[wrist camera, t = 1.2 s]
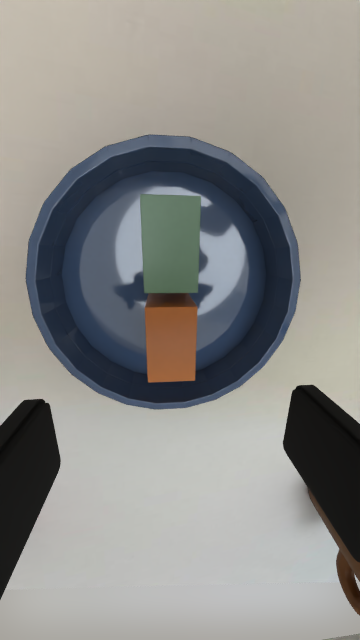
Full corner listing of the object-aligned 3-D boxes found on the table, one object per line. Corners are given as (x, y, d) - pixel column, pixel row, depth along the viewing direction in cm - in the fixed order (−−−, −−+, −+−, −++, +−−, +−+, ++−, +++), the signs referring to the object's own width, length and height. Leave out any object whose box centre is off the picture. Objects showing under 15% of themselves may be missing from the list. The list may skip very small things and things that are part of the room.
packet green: (145, 209, 17) (139, 193, 12) (189, 210, 17) (201, 195, 12) (147, 282, 18) (143, 293, 14) (188, 282, 19) (198, 293, 14)
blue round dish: (39, 159, 16) (-6, 125, 11) (283, 169, 17) (324, 143, 13) (73, 382, 21) (52, 415, 17) (257, 374, 23) (279, 403, 18)
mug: (333, 526, 32) (402, 636, 23) (285, 523, 30) (337, 637, 22) (372, 462, 28) (470, 561, 19) (319, 457, 27) (397, 559, 18)
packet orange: (148, 293, 19) (144, 307, 14) (188, 292, 19) (197, 306, 14) (150, 352, 20) (147, 382, 16) (187, 350, 21) (195, 380, 16)
